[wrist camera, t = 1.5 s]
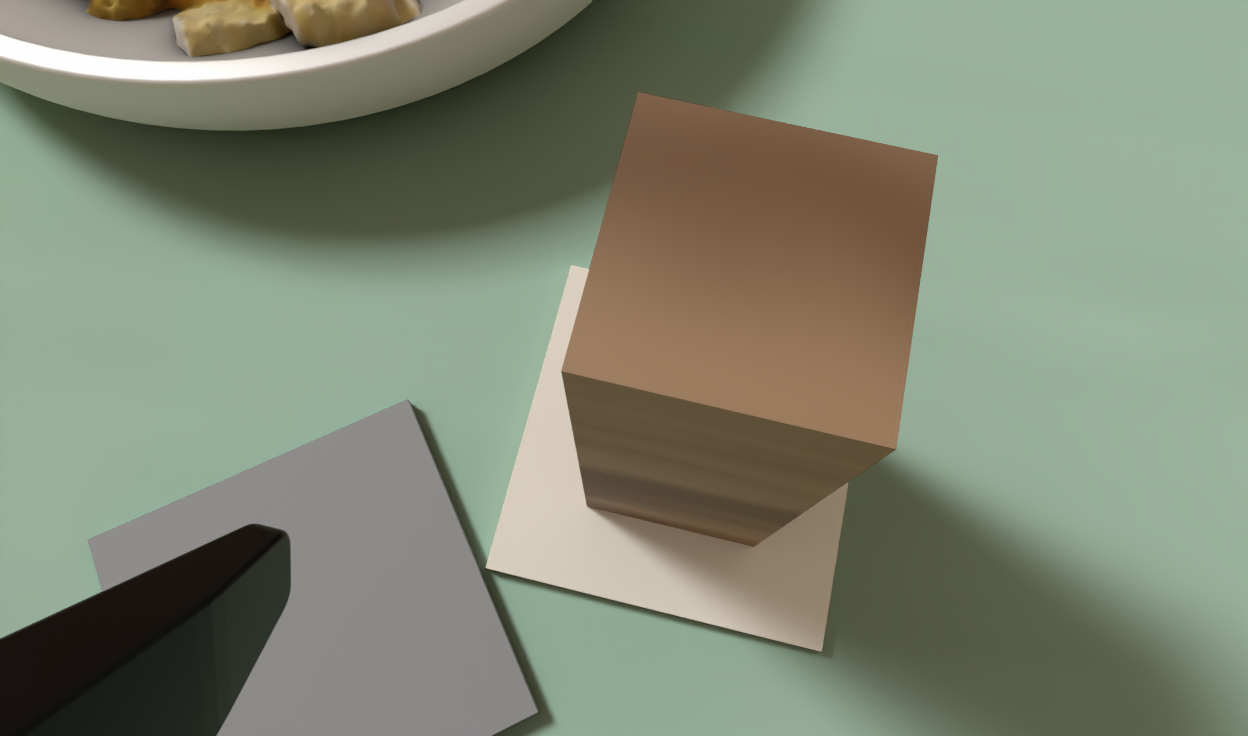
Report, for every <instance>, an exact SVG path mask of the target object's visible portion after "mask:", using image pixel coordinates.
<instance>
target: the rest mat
mask: <svg viewBox="0 0 1248 736" xmlns="http://www.w3.org/2000/svg"><path fill="white" fill-rule="evenodd" d="M253 523H256V524H262V525H266V526H270V527H274V528H278V529H282V530H284V531H286V532H287V533H288V535H289V537H290V542H291V590H290V595H289V599H288V602H287V604H286V607H285V609H284V611H283V613H282V615H281V617H280V619H279V620H278V622H277V624H276V626H275V628H274V630H273V632H272V634H271V636H270V637H269V639H268V641H267V643H266V645H265V647H264V649H263V651H262V653H261V654H260V656H259V658H258V660H257V662H256V664H255V666H254V668H253V670H252V672H251V673H250V675H249V677H248V679H247V681H246V683H245V685H244V687H243V689H242V690H241V692H240V694H239V696H238V698H237V700H236V702H235V704H234V706H233V708H232V709H231V711H230V713H229V715H228V717H227V718H226V720H225V722H224V724H223V726H222V727H221V729H220V731H219V732H218V734H217V736H492V735H494V734H496V733H498V732H500V731H502V730H504V729H506V728H508V727H510V726H512V725H514V724H516V723H518V722H520V721H522V720H524V719H526V718H527V717H529V716H531V715H533V714H535V713H537V712H539V709H538V707H537V705H536V702H535V700H534V697H533V695H532V693H531V690H530V688H529V685H528V683H527V681H526V678H525V676H524V673H523V671H522V669H521V666H520V664H519V661H518V659H517V657H516V654H515V652H514V649H513V647H512V645H511V642H510V640H509V637H508V635H507V633H506V630H505V628H504V625H503V623H502V621H501V618H500V616H499V613H498V611H497V609H496V606H495V604H494V601H493V599H492V597H491V594H490V592H489V589H488V587H487V585H486V582H485V580H484V577H483V575H482V573H481V570H480V568H479V565H478V563H477V561H476V558H475V556H474V553H473V551H472V549H471V546H470V544H469V541H468V539H467V537H466V534H465V532H464V529H463V527H462V524H461V522H460V520H459V517H458V515H457V512H456V510H455V508H454V505H453V503H452V500H451V498H450V496H449V493H448V491H447V488H446V486H445V484H444V481H443V479H442V476H441V474H440V472H439V469H438V467H437V464H436V462H435V460H434V457H433V455H432V452H431V450H430V448H429V445H428V443H427V440H426V438H425V436H424V433H423V431H422V428H421V426H420V424H419V421H418V419H417V416H416V414H415V412H414V409H413V407H412V404H411V403H410V401H409V400H408V399H407V400H405V401H403V402H401V403H398V404H396V405H394V406H391V407H389V408H387V409H385V410H382V411H380V412H378V413H375V414H373V415H371V416H369V417H366V418H364V419H362V420H360V421H357V422H355V423H353V424H350V425H348V426H346V427H344V428H341V429H339V430H337V431H334V432H332V433H330V434H328V435H325V436H323V437H321V438H319V439H316V440H314V441H312V442H309V443H307V444H305V445H303V446H300V447H298V448H296V449H293V450H291V451H289V452H287V453H284V454H282V455H280V456H278V457H275V458H273V459H271V460H268V461H266V462H264V463H262V464H259V465H257V466H255V467H252V468H250V469H248V470H246V471H243V472H241V473H239V474H236V475H234V476H232V477H230V478H227V479H225V480H223V481H221V482H218V483H216V484H214V485H211V486H209V487H207V488H205V489H202V490H200V491H198V492H195V493H193V494H191V495H189V496H186V497H184V498H182V499H180V500H177V501H175V502H173V503H170V504H168V505H166V506H164V507H161V508H159V509H157V510H154V511H152V512H150V513H148V514H145V515H143V516H141V517H139V518H136V519H134V520H132V521H129V522H127V523H125V524H123V525H120V526H118V527H116V528H113V529H111V530H109V531H107V532H104V533H102V534H100V535H98V536H95V537H93V538H91V539H88V543H89V546H90V550H91V553H92V557H93V560H94V564H95V567H96V571H97V574H98V578H99V581H100V585H101V589H102V591H105V590H107V589H109V588H111V587H113V586H115V585H117V584H120V583H122V582H124V581H126V580H128V579H130V578H133V577H135V576H137V575H139V574H141V573H143V572H146V571H148V570H150V569H152V568H154V567H156V566H159V565H161V564H163V563H165V562H167V561H169V560H172V559H174V558H176V557H178V556H180V555H182V554H185V553H187V552H189V551H191V550H193V549H195V548H198V547H200V546H202V545H204V544H206V543H208V542H211V541H213V540H215V539H217V538H219V537H221V536H224V535H226V534H228V533H230V532H232V531H234V530H237V529H239V528H241V527H243V526H246V525H248V524H253Z"/></svg>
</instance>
